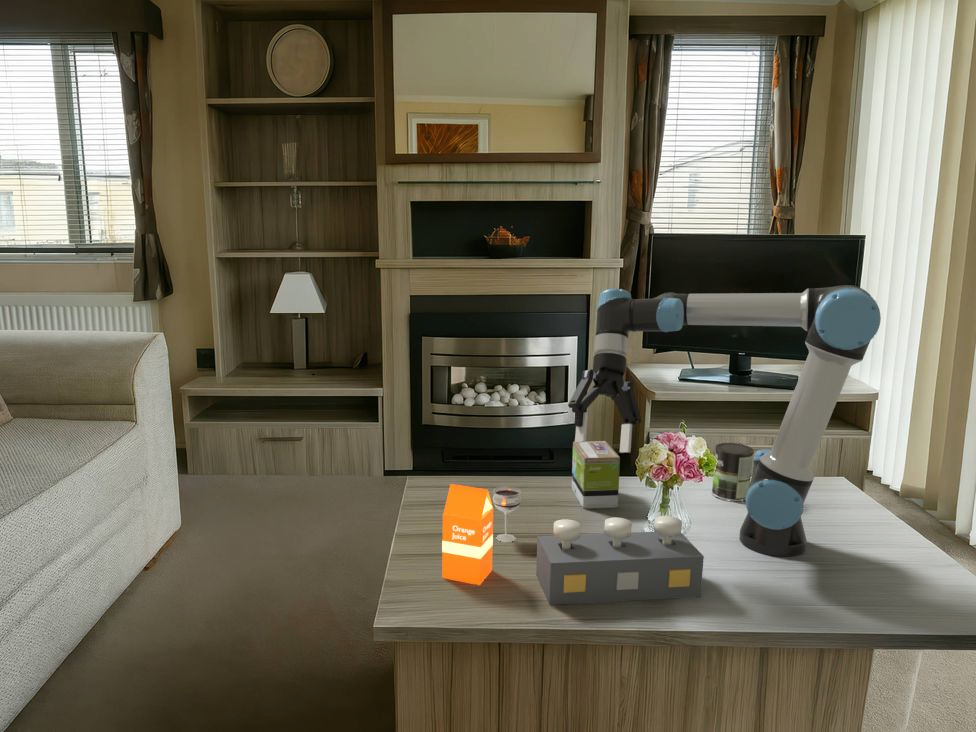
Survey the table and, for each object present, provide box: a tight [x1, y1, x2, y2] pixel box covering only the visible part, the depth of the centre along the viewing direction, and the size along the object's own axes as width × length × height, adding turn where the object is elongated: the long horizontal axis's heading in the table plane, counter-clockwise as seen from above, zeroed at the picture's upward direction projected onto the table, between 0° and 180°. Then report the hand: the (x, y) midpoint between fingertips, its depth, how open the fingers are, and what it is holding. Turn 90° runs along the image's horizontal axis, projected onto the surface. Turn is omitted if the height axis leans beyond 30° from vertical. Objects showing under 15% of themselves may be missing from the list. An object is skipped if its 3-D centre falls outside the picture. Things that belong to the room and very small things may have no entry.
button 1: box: [552, 518, 582, 549], centre depth 158 cm, size 6×6×7 cm
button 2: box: [653, 515, 683, 545], centre depth 161 cm, size 6×6×7 cm
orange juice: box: [441, 483, 494, 586], centre depth 163 cm, size 8×9×20 cm
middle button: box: [603, 516, 633, 547], centre depth 160 cm, size 6×6×7 cm
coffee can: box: [711, 442, 755, 502], centre depth 214 cm, size 10×10×14 cm
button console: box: [535, 531, 705, 606], centre depth 160 cm, size 32×13×9 cm, turn 98°
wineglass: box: [492, 485, 522, 543], centre depth 182 cm, size 7×7×12 cm
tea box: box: [571, 440, 621, 510], centre depth 209 cm, size 15×10×15 cm
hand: (603, 447), depth 169 cm, fingers open, 13 cm apart
